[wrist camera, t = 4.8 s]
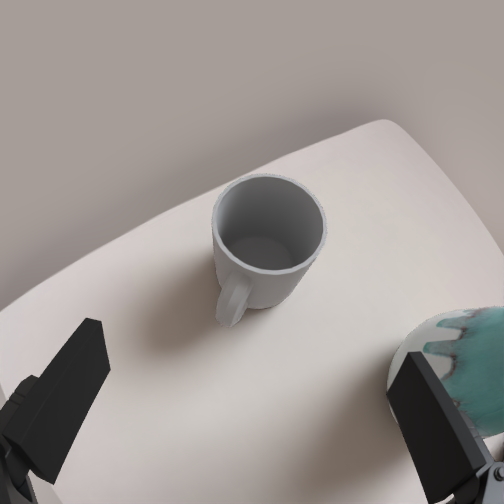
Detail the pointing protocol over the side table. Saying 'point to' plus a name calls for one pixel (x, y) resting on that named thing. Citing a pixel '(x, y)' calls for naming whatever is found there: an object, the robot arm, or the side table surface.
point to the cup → (263, 242)
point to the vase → (464, 362)
